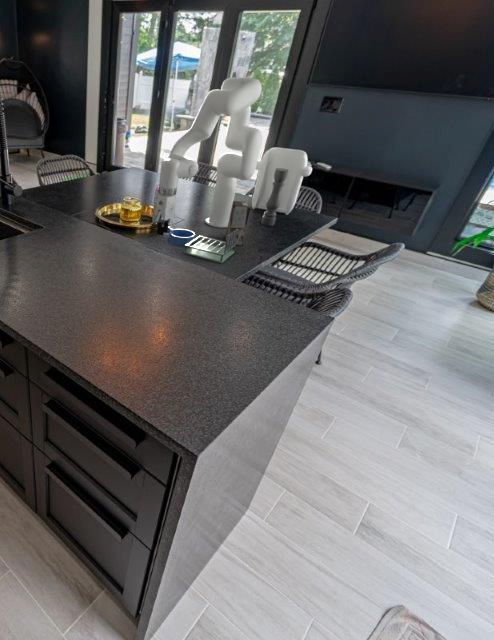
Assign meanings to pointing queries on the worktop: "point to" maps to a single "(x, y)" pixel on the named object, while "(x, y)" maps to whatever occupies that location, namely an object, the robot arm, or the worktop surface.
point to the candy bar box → (155, 204)
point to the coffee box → (238, 220)
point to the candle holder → (274, 197)
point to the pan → (178, 235)
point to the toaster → (290, 190)
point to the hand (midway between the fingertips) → (162, 233)
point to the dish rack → (212, 248)
